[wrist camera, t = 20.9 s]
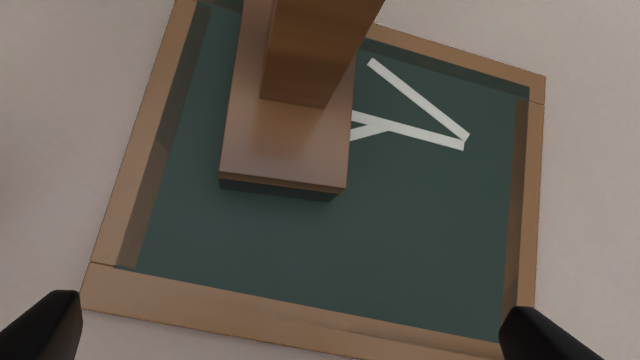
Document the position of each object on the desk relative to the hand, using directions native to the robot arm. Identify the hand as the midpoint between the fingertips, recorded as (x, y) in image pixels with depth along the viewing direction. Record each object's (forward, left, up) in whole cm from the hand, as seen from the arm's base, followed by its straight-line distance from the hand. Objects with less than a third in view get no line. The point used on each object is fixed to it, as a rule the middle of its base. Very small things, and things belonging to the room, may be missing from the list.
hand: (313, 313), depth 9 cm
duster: (+10, +1, -12) cm, 16 cm away
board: (+7, -3, -13) cm, 15 cm away
